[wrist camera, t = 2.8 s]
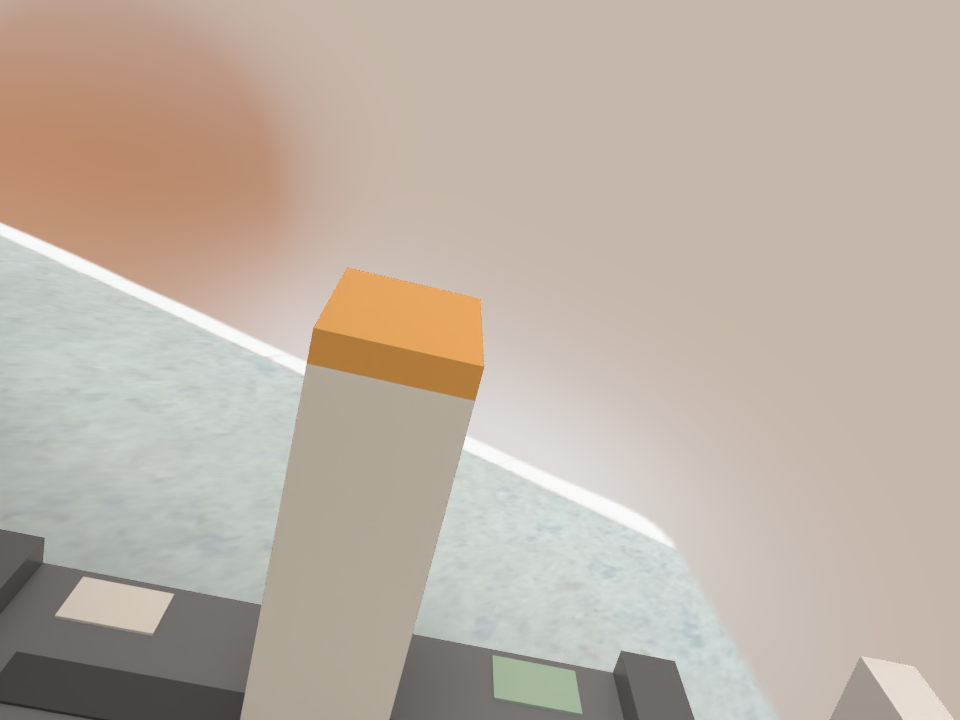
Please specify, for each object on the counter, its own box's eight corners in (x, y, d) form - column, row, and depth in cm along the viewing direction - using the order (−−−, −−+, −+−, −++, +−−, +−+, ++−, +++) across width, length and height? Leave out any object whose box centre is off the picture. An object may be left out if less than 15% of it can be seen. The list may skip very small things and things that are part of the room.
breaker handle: (227, 786, 21) (313, 327, 17) (271, 652, 26) (347, 267, 21) (365, 809, 21) (484, 366, 17) (383, 674, 26) (480, 299, 22)
